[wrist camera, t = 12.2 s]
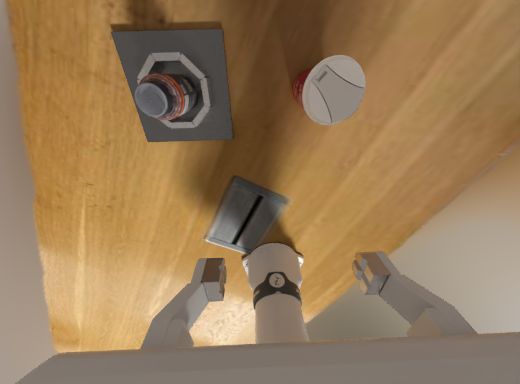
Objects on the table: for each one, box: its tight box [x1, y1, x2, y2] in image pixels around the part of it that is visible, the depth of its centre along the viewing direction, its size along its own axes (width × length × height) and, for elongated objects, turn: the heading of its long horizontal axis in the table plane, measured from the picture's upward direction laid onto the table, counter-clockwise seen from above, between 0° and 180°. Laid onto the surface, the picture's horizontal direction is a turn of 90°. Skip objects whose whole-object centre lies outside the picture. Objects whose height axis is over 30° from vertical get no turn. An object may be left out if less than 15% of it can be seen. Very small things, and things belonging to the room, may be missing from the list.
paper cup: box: [293, 55, 366, 125], centre depth 28 cm, size 8×8×14 cm
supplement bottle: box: [135, 73, 196, 120], centre depth 28 cm, size 6×6×11 cm
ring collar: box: [111, 29, 233, 142], centre depth 32 cm, size 17×17×4 cm
